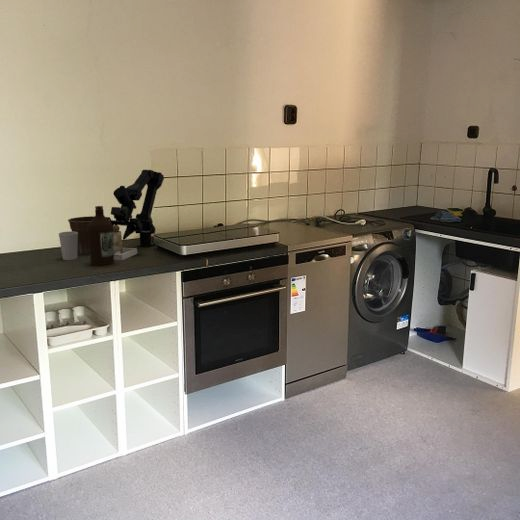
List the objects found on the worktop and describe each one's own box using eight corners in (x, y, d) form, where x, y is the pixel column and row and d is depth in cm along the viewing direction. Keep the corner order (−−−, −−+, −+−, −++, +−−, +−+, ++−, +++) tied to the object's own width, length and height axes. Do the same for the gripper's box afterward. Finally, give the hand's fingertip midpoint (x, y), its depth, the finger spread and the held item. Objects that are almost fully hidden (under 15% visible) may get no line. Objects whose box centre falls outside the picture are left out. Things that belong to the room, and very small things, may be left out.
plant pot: (64, 256, 266) (61, 221, 262) (79, 249, 281) (76, 215, 278) (98, 257, 264) (96, 221, 260) (111, 249, 280) (109, 216, 276)
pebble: (117, 257, 261) (116, 250, 260) (123, 257, 260) (122, 251, 259) (113, 258, 258) (113, 252, 257) (119, 259, 257) (119, 252, 256)
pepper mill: (119, 253, 266) (116, 223, 262) (124, 255, 263) (122, 224, 260) (110, 255, 263) (108, 225, 259) (116, 257, 260) (114, 226, 256)
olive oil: (84, 265, 248) (80, 206, 242) (104, 260, 256) (100, 204, 251) (100, 268, 242) (97, 208, 236) (120, 264, 250) (117, 206, 245)
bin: (113, 253, 271) (113, 247, 271) (137, 254, 268) (137, 248, 268) (97, 259, 258) (97, 253, 258) (122, 261, 255) (122, 254, 254)
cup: (82, 257, 262) (80, 231, 259) (75, 261, 254) (73, 234, 252) (65, 257, 263) (63, 231, 260) (57, 261, 255) (55, 234, 252)
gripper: (100, 199, 264) (89, 227, 256) (138, 200, 259) (127, 229, 251) (110, 214, 273) (99, 241, 265) (147, 215, 268) (136, 243, 260)
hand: (115, 238), depth 260 cm, fingers open, 8 cm apart
